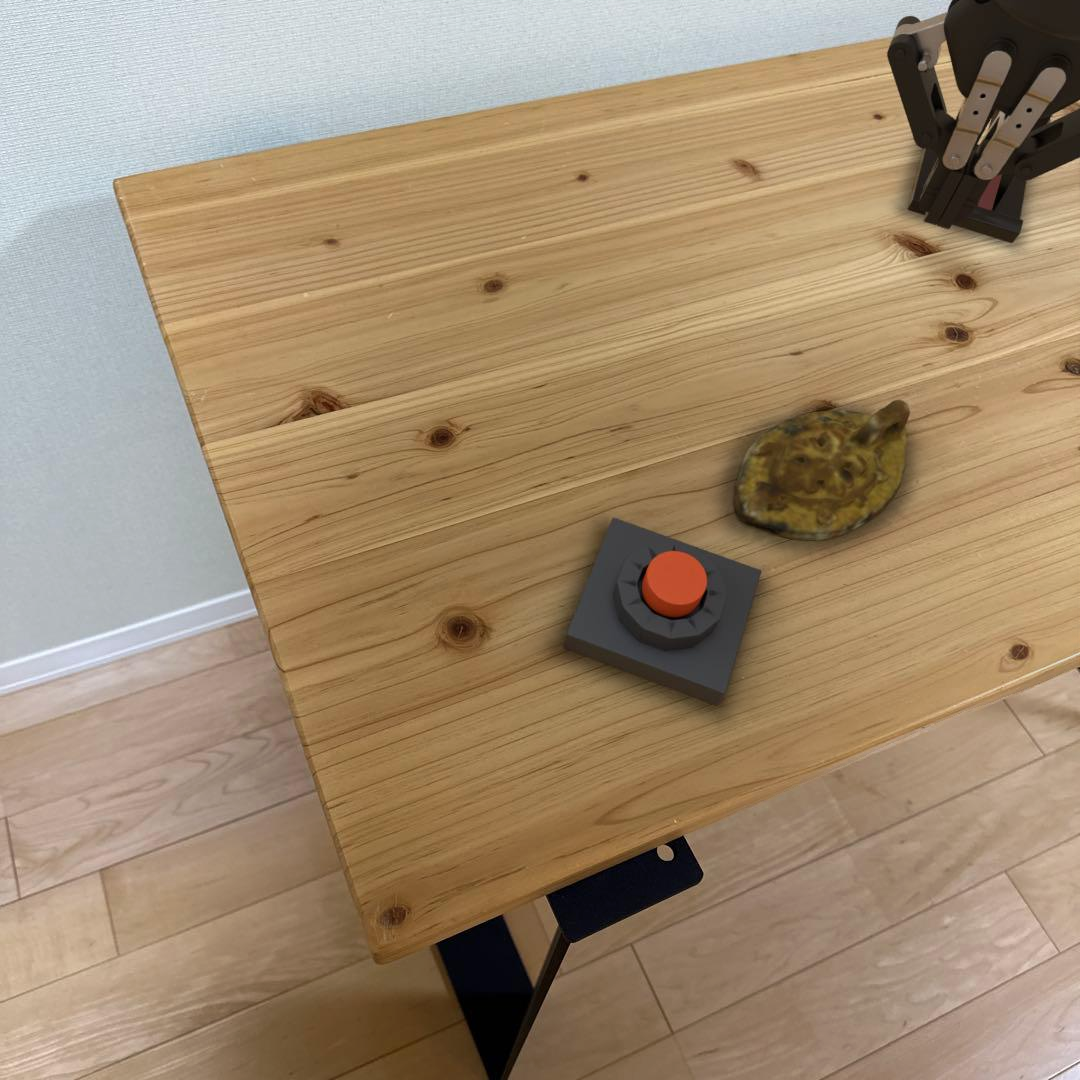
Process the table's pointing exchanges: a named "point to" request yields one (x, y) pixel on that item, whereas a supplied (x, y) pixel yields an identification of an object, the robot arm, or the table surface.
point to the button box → (662, 616)
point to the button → (674, 584)
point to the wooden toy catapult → (1009, 186)
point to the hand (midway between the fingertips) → (938, 216)
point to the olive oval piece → (823, 472)
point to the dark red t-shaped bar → (992, 214)
